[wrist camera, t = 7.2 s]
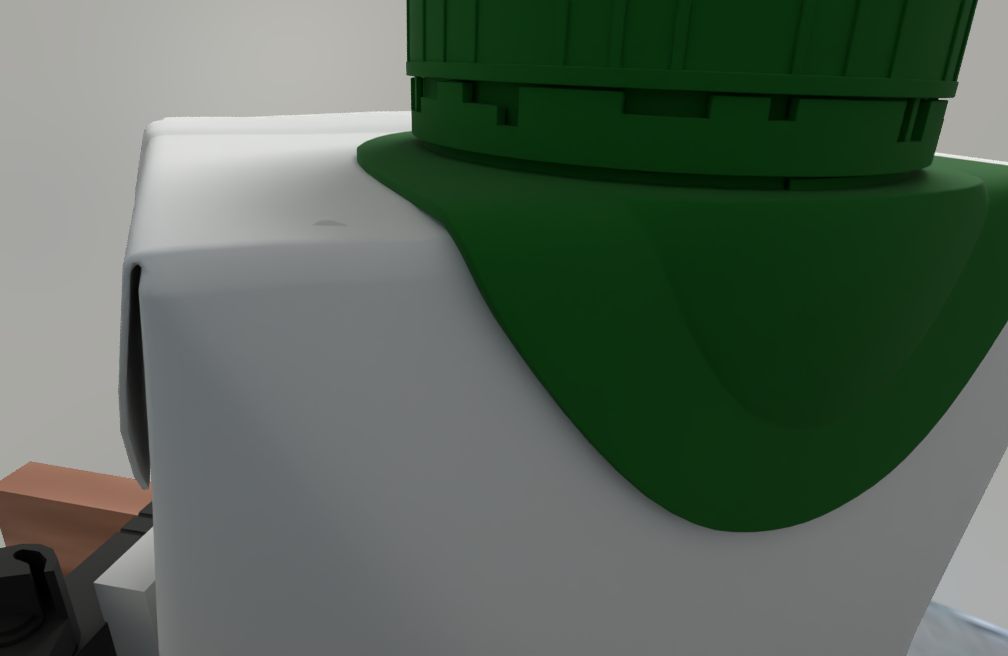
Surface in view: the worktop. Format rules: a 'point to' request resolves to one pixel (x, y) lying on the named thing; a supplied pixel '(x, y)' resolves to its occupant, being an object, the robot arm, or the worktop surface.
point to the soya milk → (575, 341)
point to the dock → (67, 509)
